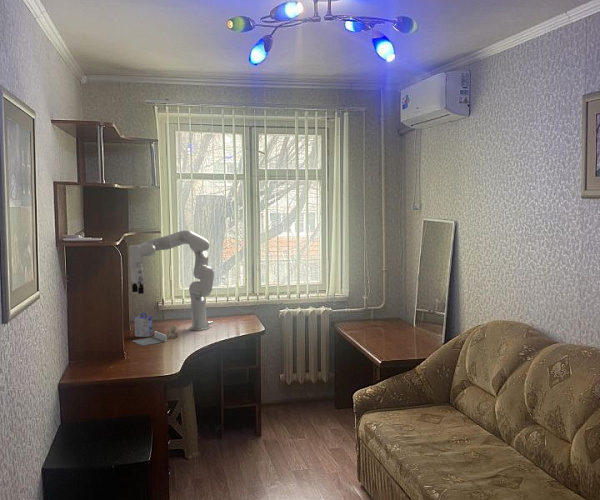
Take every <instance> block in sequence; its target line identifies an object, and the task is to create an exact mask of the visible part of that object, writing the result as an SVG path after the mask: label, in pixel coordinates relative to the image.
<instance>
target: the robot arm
mask: <svg viewBox="0 0 600 500" xmlns="http://www.w3.org/2000/svg"><path fill="white" fill-rule="evenodd" d="M182 245H189V248H190V249H191V250H192V251H193V253H194V256H195V260H194V268H193V272H192V273H193V277H194V278H195V279H197V280H195V281H192V282H191V283H190V285H189V288H188V290H189V291H188V292H189V297H190V306H191V308H190V309H191V326H190V327H189V330H191V331H205V330H208V329H210V326H209V325H214V321H213V320H212V321H211V320H210V321H209V320H207V305H206V304H207V302H206V298H207V297H209V296H210V295H211V294H212V291H213V285H214V279H215V271H214V269H213V267H211V266H209V253H208V250H209V249H210V242H209V241H208V239H206V238H205V237H203V236H201V235H199V234H197V233H196V232H193V231H191V230H179V231H177V232H174V233H171V234H169V235H168V234H167V235H165V236H162V237H158V238H153V239H151V240H147V241H145V242H142V243H140V244H131V245H129V247H128V252H129V253H128V254H129V267H130V274H131V275H130V277H131V278H130V280H131V289H132V290H131V292H132V293H137V292H138V295H140V294H141V295H142V294H144V293H145V291H144V285H145V284H144V283H145V273H144V263H143V257H151V256H153V255H155V254H156V252H157V251H166V250H171V249H173V248H174V249H175V248H177V247H178V246H182Z"/></svg>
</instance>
